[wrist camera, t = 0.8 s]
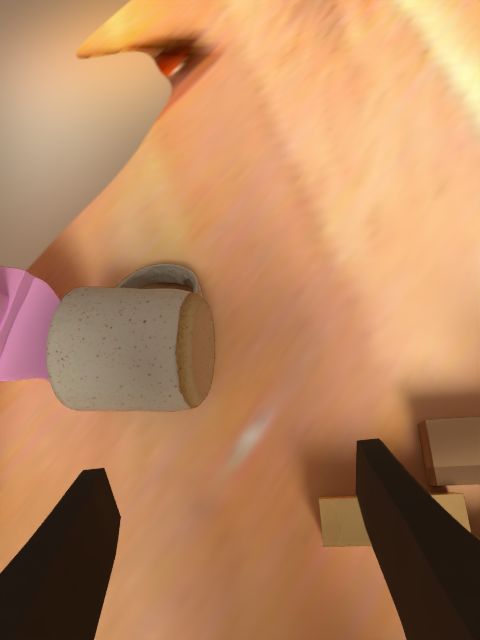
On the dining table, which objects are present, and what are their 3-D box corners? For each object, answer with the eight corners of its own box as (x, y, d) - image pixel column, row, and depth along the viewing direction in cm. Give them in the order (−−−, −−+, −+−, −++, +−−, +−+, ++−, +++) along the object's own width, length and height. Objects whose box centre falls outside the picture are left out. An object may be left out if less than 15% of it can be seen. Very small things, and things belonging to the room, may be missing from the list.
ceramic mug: (217, 420, 28) (179, 397, 21) (99, 419, 30) (27, 398, 23) (225, 270, 32) (194, 208, 25) (119, 276, 34) (62, 220, 27)
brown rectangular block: (456, 536, 24) (473, 543, 21) (324, 539, 25) (323, 547, 22) (448, 492, 25) (463, 493, 22) (320, 497, 26) (318, 499, 23)
